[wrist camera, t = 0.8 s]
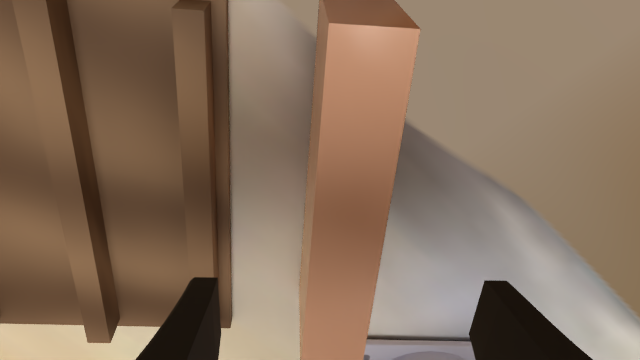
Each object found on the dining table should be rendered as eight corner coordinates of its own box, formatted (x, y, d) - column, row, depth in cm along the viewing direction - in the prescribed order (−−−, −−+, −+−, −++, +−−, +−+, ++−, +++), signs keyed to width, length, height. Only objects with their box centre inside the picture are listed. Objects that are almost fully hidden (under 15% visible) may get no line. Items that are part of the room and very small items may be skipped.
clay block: (349, 288, 25) (360, 373, 20) (299, 287, 25) (300, 372, 20) (389, -6, 18) (420, 28, 13) (319, -11, 18) (328, 22, 13)
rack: (231, 319, 25) (226, 352, 23) (-128, 310, 24) (-163, 345, 22) (227, -17, 17) (219, -5, 15) (-316, -58, 16) (-395, -52, 14)
